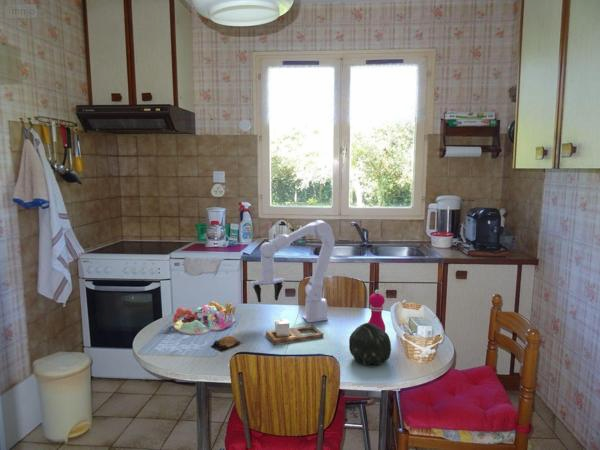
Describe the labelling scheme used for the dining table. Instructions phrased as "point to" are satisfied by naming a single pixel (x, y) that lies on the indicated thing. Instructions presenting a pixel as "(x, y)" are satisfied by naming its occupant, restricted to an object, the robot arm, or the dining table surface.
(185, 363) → the dining table surface
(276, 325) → the light grey block
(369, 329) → the squash
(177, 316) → the candy landscape model
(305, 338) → the wooden board with holes
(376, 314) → the pepper mill
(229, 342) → the bread roll
